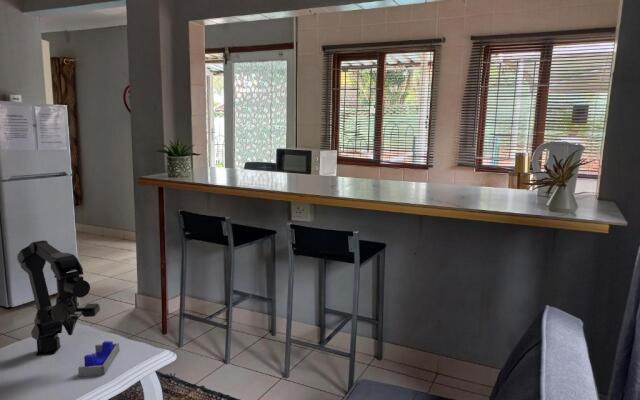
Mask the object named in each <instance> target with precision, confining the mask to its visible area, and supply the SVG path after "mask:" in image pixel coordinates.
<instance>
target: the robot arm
mask: <svg viewBox="0 0 640 400" xmlns="http://www.w3.org/2000/svg"><path fill="white" fill-rule="evenodd" d="M16 258H17V262H18V263H19V265H20V268H21V269H22V270H23V271H24V272H26V273H27V274H28V275H27V276H28V279H29V282H30V287H31V291H32V295H33V299H34V303H35V308H36V311H37V312H36V314H35V317H34V326H33V328H32V330H31V331H30V333H31V334H30V335H31V337H32V339H34V340H36V349H37V350H36V351H37V352H36V353H35V354H34V355H35V356H44V355H54V354H56V352H58V350H59V349H60V348H61V347H62V346H61V342H60V337H59V334H62V332H63V327H64V329H65V331H66V333H67V336H72V335H73V333H74V330H75V328H76V324H77V321H78V320H79V319H80V317H81V316H83V317H84V318H87V317H88V318H90V317H92V318H93V317H95V316H96V315H97V314H98V313H99V312H100V310H101V308H100V304H99V303H87V304H86V305H85V306H84V307H83V306H81V307H79V306H80V304H79V302H78V299H79V298H84V297H86V296H87V295H88V294H89V293H90V290H91V285H90V283H89V282H88V281H87V280H84V276H82V275H84V273H85V272H84V271H83V270H84V268H83V267H82V265H81V262H80V261H79V259H78V258H77V256H76V255H75V254H73V253H69V252H61V251H60V250H58V249H57V248H56V247H54V246H52V245H51V244H49V242H48V241H47V240H37V241H33V242H30V243H29V245H28V246H26V247H24V248H23V249H21V250H20V251H19V253H18V254H17V256H16ZM46 262H47V263H49V264H50V270H51V271H52V272H53V274H54V278H55V281H56V290H57V297H56V300H55V301H56V302H55V305H52V302H51V298H50V293H49V290H48V285H47V281H46V278H45V273H44V268H45V265H46Z"/></svg>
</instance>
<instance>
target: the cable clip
mask: <svg viewBox="0 0 640 400" xmlns="http://www.w3.org/2000/svg"><path fill="white" fill-rule="evenodd" d="M101 344H102V349H101V350H99V351H98V352H97V353H95V354H86V355H84V358H83V360H84V361H83V362H84V367H86V366H100V365H103V364H104V362H105V361H106V359H107V358H108V356H109V355H110V353H111V352H112V350H113V344H114V341H109V340H107V341H106V340H105V341H103V342H102V343H101Z"/></svg>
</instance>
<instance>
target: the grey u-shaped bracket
mask: <svg viewBox="0 0 640 400" xmlns="http://www.w3.org/2000/svg"><path fill="white" fill-rule="evenodd" d="M94 346H95V348H94V350H95V354H97V352H98V351H99V350H101V349H102V343H99V344H95V345H94ZM120 352H121V351H120V343H119V342H117V343H113V350H112V352H111V353H110V355H109V356H108V358H107V359H106V361H105V362H104V364H103V365H100V366H86V367H85V366H78V367H77V370H78V377H79V378H80V377H89V376H90V377H92V376H106V374H107V372H108V370H109V368H110V367H111V365H112V364H113V363H114V361H115V359H116V358H117V356H118V354H119V353H120Z"/></svg>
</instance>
